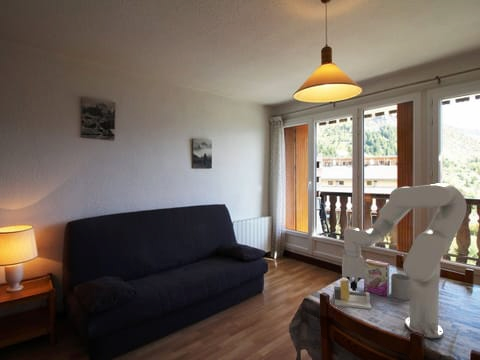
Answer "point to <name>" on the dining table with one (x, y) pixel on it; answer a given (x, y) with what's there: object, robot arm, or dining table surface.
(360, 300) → the shallow white tray
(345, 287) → the yellow tall block
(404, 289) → the cup
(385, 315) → the dining table surface
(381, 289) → the candy bar box
